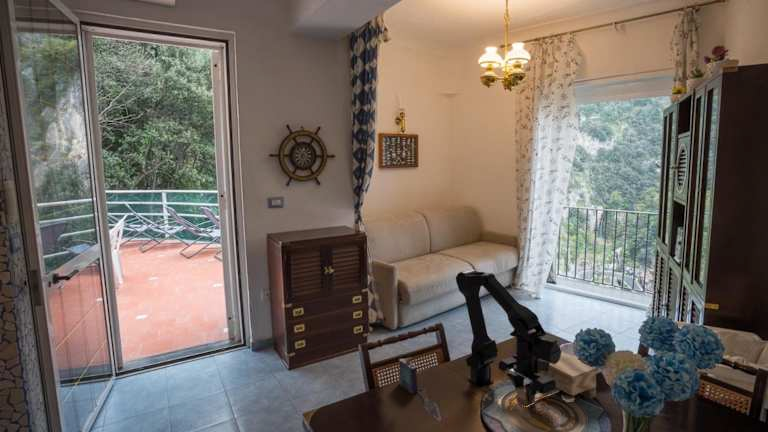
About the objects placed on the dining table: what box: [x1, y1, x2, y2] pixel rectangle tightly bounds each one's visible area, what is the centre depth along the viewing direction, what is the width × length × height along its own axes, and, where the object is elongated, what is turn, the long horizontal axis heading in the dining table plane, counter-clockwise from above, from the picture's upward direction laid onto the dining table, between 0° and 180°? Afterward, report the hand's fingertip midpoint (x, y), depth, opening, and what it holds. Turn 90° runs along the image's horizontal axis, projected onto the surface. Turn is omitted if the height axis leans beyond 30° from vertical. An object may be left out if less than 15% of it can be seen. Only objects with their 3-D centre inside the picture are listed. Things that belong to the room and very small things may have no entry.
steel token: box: [560, 392, 576, 401], centre depth 129 cm, size 4×4×1 cm
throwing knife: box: [416, 387, 442, 423], centre depth 130 cm, size 4×20×1 cm, turn 14°
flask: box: [398, 357, 419, 395], centre depth 140 cm, size 9×3×11 cm, turn 30°
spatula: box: [516, 384, 561, 407], centre depth 130 cm, size 16×4×5 cm, turn 116°
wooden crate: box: [536, 351, 598, 400], centre depth 133 cm, size 12×15×10 cm
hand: (525, 400), depth 128 cm, fingers closed on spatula, 3 cm apart
